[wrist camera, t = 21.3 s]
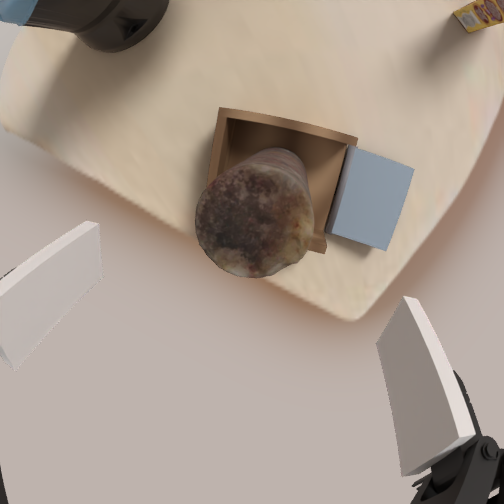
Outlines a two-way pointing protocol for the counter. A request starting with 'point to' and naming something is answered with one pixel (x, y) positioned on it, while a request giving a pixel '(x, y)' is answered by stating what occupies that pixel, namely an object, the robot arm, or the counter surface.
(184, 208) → the counter surface
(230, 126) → the box
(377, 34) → the counter surface
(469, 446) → the robot arm
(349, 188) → the panel
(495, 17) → the candy box
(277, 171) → the candle
